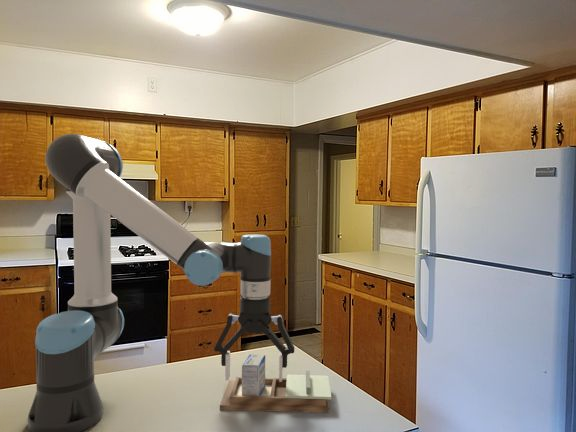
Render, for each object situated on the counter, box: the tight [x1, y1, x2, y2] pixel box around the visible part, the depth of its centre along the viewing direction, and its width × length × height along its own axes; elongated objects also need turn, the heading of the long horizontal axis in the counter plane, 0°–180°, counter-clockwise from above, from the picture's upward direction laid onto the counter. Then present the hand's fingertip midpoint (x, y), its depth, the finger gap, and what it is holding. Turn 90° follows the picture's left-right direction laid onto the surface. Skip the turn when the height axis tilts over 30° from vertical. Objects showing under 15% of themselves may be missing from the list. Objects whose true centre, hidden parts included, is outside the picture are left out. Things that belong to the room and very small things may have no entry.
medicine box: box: [241, 353, 266, 396], centre depth 113 cm, size 8×4×9 cm, turn 171°
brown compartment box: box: [219, 376, 329, 414], centre depth 113 cm, size 26×14×3 cm, turn 88°
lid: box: [285, 370, 332, 400], centre depth 113 cm, size 11×12×2 cm
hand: (254, 378), depth 113 cm, fingers open, 13 cm apart
